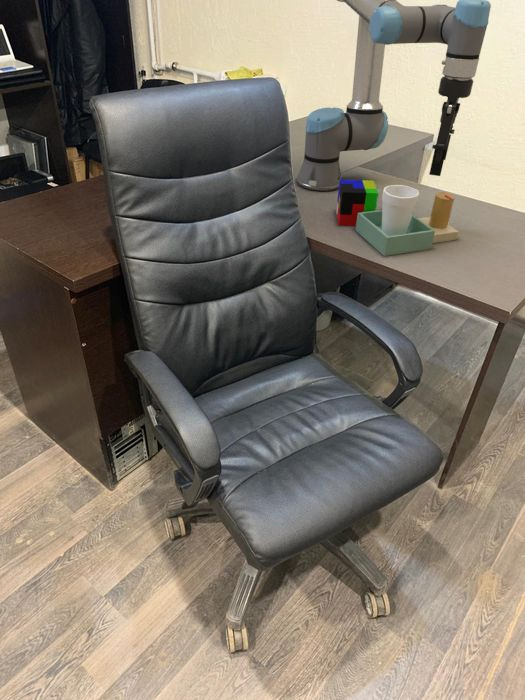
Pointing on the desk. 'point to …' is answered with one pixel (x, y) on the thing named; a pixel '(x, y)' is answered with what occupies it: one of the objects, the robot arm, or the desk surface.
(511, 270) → the desk surface
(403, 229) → the foam cup
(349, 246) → the desk surface
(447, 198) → the tap handle
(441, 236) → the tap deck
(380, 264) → the desk surface
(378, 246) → the basin
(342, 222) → the puzzle toy
